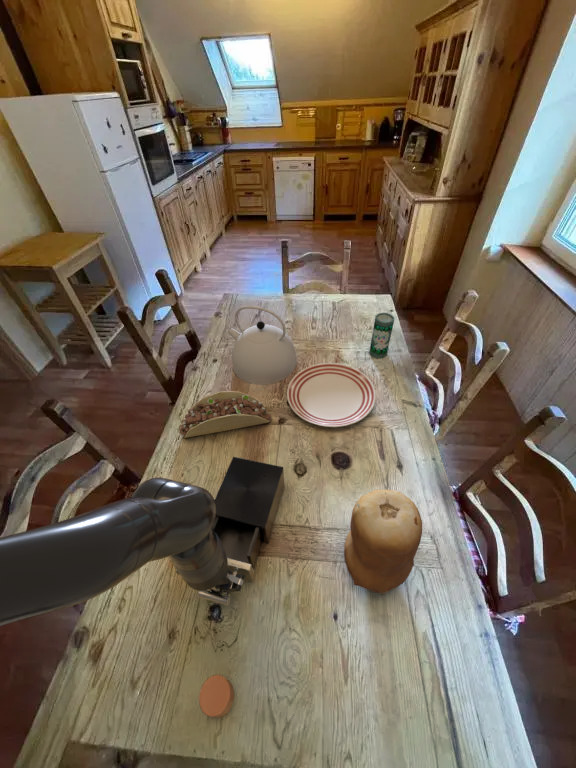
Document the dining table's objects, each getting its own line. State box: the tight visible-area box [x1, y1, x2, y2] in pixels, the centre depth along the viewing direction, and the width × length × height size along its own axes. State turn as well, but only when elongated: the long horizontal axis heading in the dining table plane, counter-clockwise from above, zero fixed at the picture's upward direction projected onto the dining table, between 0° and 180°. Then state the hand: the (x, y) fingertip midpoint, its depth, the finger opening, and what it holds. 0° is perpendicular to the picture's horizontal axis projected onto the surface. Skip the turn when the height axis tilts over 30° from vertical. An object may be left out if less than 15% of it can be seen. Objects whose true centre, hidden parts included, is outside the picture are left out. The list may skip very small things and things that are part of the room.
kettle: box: [226, 305, 297, 386], centre depth 114 cm, size 25×23×22 cm
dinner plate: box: [286, 362, 377, 428], centre depth 107 cm, size 28×27×3 cm
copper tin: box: [198, 674, 235, 718], centre depth 57 cm, size 5×5×5 cm
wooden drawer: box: [197, 517, 263, 606], centre depth 71 cm, size 19×11×7 cm, turn 166°
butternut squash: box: [343, 489, 423, 595], centre depth 64 cm, size 14×13×25 cm
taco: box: [178, 390, 272, 439], centre depth 98 cm, size 10×27×10 cm, turn 102°
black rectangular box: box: [214, 456, 286, 545], centre depth 80 cm, size 15×13×9 cm
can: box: [368, 312, 395, 359], centre depth 118 cm, size 6×6×15 cm
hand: (218, 588), depth 67 cm, fingers closed
